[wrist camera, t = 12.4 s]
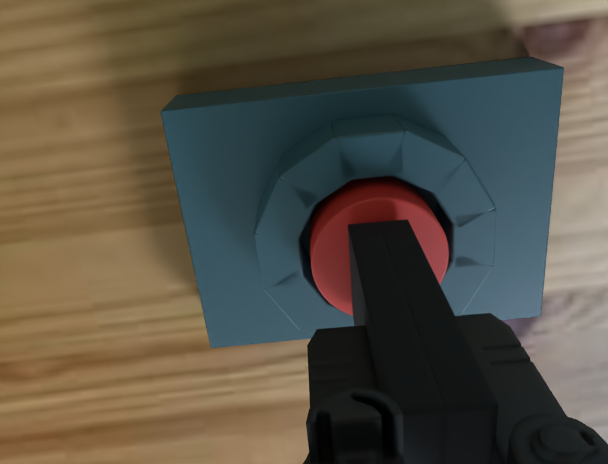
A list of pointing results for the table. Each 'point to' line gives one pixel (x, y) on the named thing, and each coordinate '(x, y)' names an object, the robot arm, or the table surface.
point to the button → (365, 209)
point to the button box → (359, 165)
